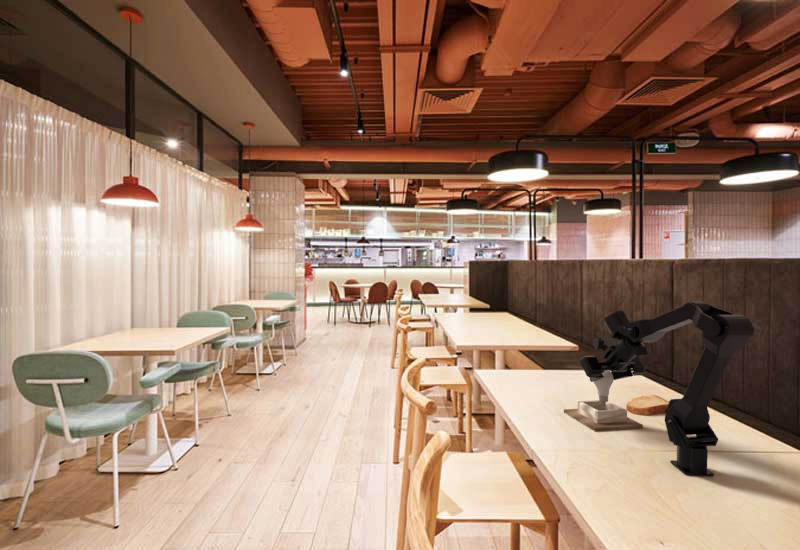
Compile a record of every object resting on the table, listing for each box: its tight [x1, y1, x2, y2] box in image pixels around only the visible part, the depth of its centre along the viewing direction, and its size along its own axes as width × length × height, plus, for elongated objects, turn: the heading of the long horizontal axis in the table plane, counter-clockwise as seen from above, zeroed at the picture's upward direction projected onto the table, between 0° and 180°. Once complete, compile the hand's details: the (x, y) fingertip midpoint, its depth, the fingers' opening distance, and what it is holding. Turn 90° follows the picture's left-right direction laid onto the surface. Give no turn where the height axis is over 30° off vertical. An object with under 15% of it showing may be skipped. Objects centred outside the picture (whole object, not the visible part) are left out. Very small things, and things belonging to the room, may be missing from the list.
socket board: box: [563, 400, 644, 432], centre depth 134 cm, size 16×16×4 cm
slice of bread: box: [625, 394, 670, 416], centre depth 146 cm, size 18×18×4 cm
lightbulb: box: [593, 371, 615, 403], centre depth 134 cm, size 6×6×11 cm
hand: (599, 380), depth 135 cm, fingers closed on lightbulb, 6 cm apart
